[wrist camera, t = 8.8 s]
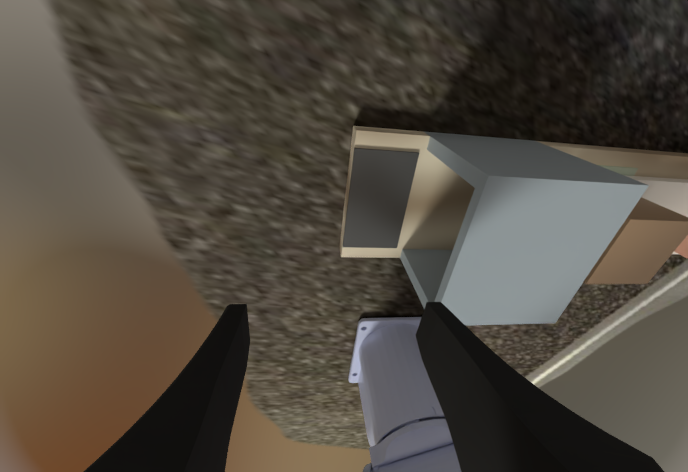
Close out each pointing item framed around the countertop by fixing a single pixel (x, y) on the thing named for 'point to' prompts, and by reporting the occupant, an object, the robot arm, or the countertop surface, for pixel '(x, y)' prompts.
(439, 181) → the board
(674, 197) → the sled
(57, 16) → the countertop surface
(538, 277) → the tunnel
